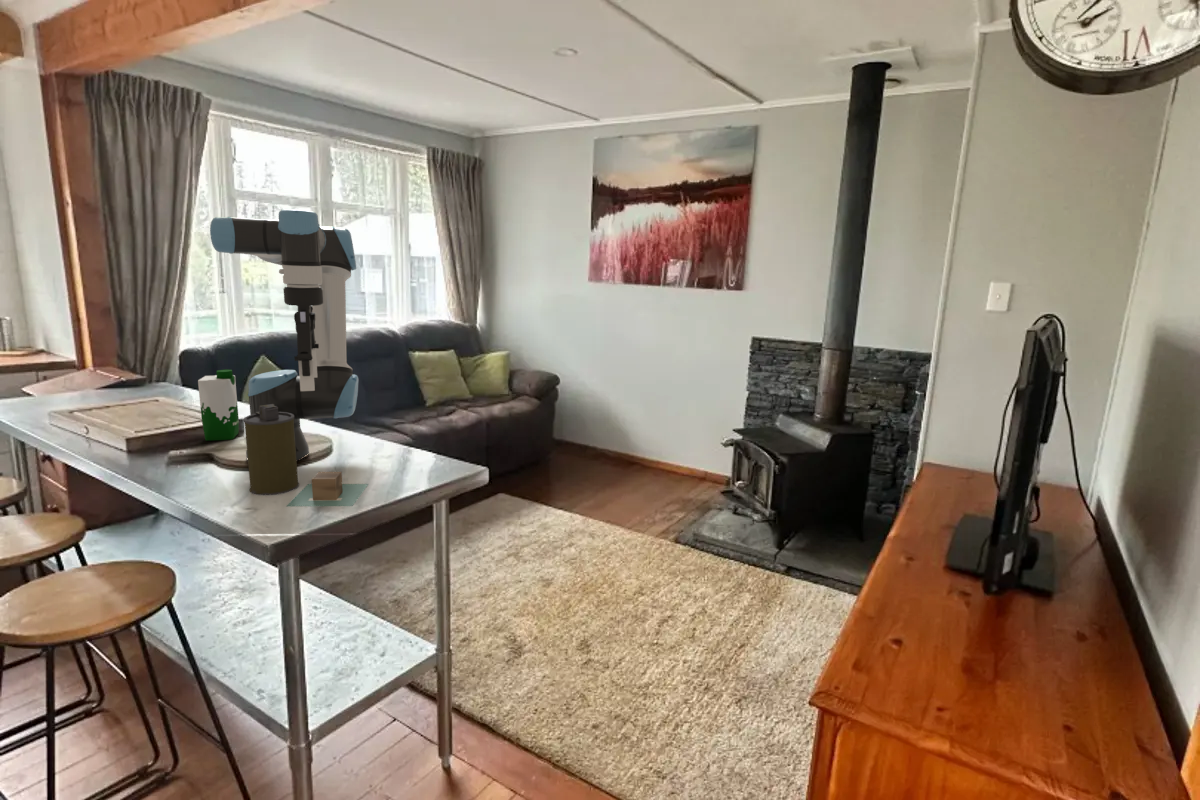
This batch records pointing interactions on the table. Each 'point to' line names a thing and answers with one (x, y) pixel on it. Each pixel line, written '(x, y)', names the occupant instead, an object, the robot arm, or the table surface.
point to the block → (327, 485)
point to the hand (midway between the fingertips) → (309, 383)
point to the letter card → (345, 499)
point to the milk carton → (219, 406)
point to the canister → (271, 451)
